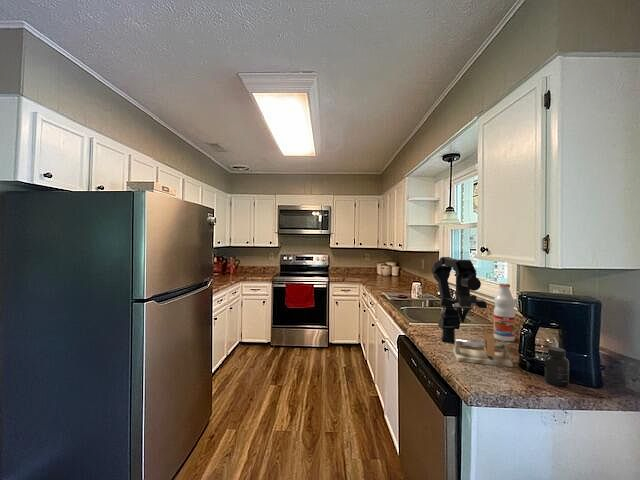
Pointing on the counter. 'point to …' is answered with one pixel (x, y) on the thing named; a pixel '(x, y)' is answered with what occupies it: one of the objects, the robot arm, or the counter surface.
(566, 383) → the supplement bottle
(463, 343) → the pipe
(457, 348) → the stand
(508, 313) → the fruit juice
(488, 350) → the slotted orange block
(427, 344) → the counter surface
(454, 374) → the counter surface
